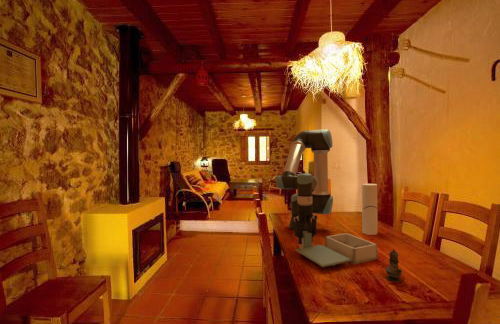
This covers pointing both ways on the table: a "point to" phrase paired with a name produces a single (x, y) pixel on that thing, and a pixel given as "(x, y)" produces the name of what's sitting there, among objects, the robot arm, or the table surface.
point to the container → (369, 209)
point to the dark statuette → (393, 268)
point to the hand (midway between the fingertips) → (305, 249)
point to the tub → (352, 247)
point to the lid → (320, 253)
